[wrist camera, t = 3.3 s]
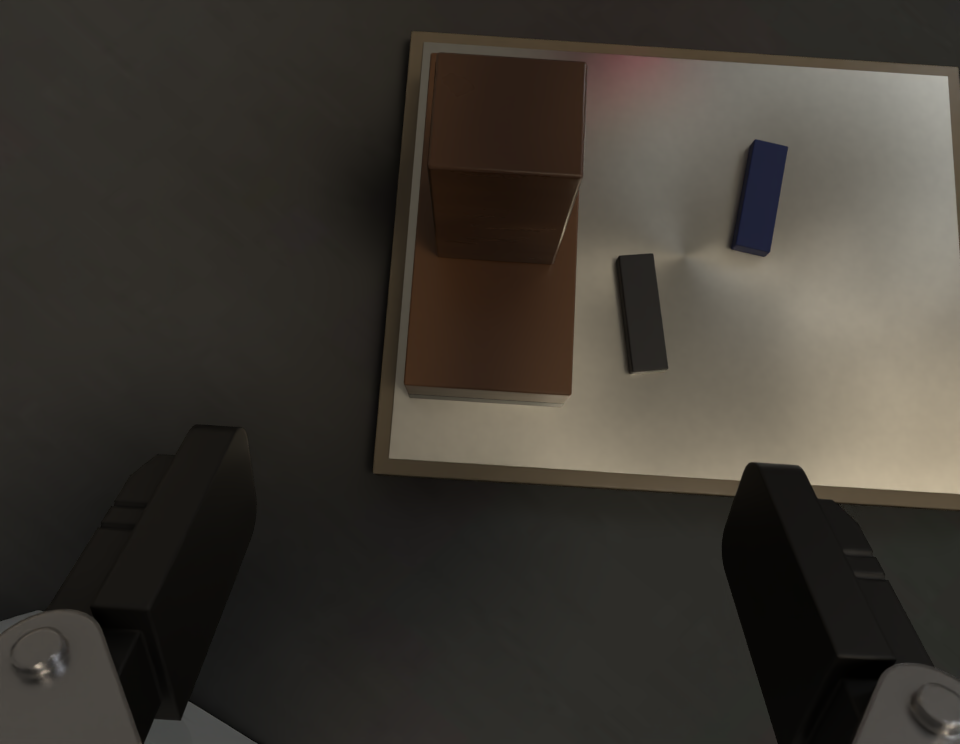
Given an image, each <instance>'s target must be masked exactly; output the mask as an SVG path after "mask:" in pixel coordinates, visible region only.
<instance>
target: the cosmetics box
mask: <svg viewBox="0 0 960 744" xmlns="http://www.w3.org/2000/svg"><path fill="white" fill-rule="evenodd" d="M41 612H42V611H40V610H37V611H33V612H30V613H26V614H23V615H20V616H15V617H13V618H10V619H7V620H3V621H0V634H1V633H2V632H3V631H5V630H6V629H7V628H9V627H10V626H12V625H14V624H15V623H17V622H19V621H21V620H23V619H25V618H27V617H29V616H32V615H35V614H38V613H41ZM144 744H257V743H255V742H254V741H252V740H251V739H249V738H247V737H246V736H244V735H243V734H241V733H239V732H238V731H236V730H234V729H233V728H231V727H230V726H228V725H227V724H225V723H223V722H222V721H220V720H218V719H217V718H215V717H214V716H212V715H210V714H209V713H207V712H206V711H204V710H202V709H201V708H199V707H197V706H196V705H194V704H192V703H191V702H189V701H188V703H187V706H186V708H185V711H184V714H183V716H182V719H181V721H176V720H160V719H154V721H153V723H152V726H151V728H150V730H149V733H148V735H147V738H146V740H145V742H144Z"/></svg>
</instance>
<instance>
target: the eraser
mask: <svg viewBox="0 0 960 744" xmlns="http://www.w3.org/2000/svg"><path fill="white" fill-rule="evenodd" d="M587 68H588V66H587V63H586V62H581V61H566V60H551V59H536V58H520V57H505V56H490V55H475V54H460V53H445V52H439V53H431V55H430V67H429V79H428V91H427V104H426V116H425V128H424V140H423V152H422V165H421V177H420V189H419V201H418V213H417V226H416V238H415V250H414V262H413V274H412V287H411V299H410V311H409V323H408V335H407V348H406V360H405V372H404V386H405V388H406V390H407V392H408V395H409V397H410V398H419V399H434V400H450V401H466V402H482V403H498V404H514V405H530V406H546V407H562V406H563V405H564V403H565V402H566V401H567V400H568V398H569V397H570V396H571V394H572V373H573V346H574V319H575V292H576V266H577V239H578V212H579V188H580V185H581V182H582V179H583V176H584V150H585V123H586V95H587Z"/></svg>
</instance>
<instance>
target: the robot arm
mask: <svg viewBox="0 0 960 744" xmlns="http://www.w3.org/2000/svg"><path fill="white" fill-rule="evenodd" d="M256 505H257V504H256V493H255V486H254V479H253V472H252V465H251V458H250V451H249V445H248V438H247V434H246V431H245V430H244V428H242V427H227V426H212V425H194V426H193V427H192V428H191V429H190V430H189V432H188V434H187V435H186V437H185V439H184V441H183V442H182V444H181V446H180V448H179V449H178V451H177V453H176V455H159V454H157V455H156V456H155V457H153V458H152V459H151V460H150V461H148V462H147V463H146V464H144V465H143V466H142V467H141V468H139V469H138V470H137V471H136V472H134V473H133V474H132V475H130V477H129V478H128V480H127V482H126V483H125V485H124V486H123V488H122V490H121V491H120V493H119V495H118V496H117V498H116V499H115V501H114V506H111V507H110V509H109V511H108V512H107V514H106V515H105V517H104V519H103V520H102V522H101V527H100V528H97V530H96V531H95V533H94V535H93V536H92V538H91V539H90V541H89V543H88V544H87V546H86V547H85V549H84V551H83V552H82V554H81V555H80V557H79V559H78V560H77V562H76V563H75V565H74V567H73V568H72V570H71V571H70V573H69V575H68V576H67V578H66V579H65V581H64V583H63V584H62V586H61V587H60V589H59V591H58V592H57V594H56V596H55V597H54V599H53V600H52V602H51V604H50V605H49V607H48V608H47V609H46V611H45V612H41V613H38V614H35V615H32V616H29V617H27V618H25V619H23V620H21V621H19V622H17V623H15V624H14V625H12V626H10V627H9V628H7V629H6V630H5V631H3V632H2V633H1V634H0V744H144V742H145V740H146V738H147V735H148V733H149V730H150V728H151V726H152V723H153V721H154V719H160V720H176V721H181V719H182V716H183V714H184V711H185V708H186V706H187V703H188V701H189V698H190V695H191V693H192V690H193V688H194V685H195V682H196V680H197V677H198V675H199V672H200V669H201V667H202V664H203V662H204V659H205V657H206V654H207V651H208V649H209V646H210V644H211V641H212V638H213V636H214V633H215V631H216V628H217V625H218V623H219V620H220V618H221V615H222V612H223V610H224V607H225V605H226V602H227V599H228V597H229V594H230V592H231V589H232V586H233V584H234V581H235V579H236V576H237V573H238V571H239V568H240V566H241V563H242V560H243V558H244V555H245V553H246V550H247V547H248V545H249V542H250V540H251V537H252V534H253V530H254V525H255V519H256ZM722 559H723V565H724V570H725V573H726V576H727V580H728V583H729V586H730V589H731V593H732V596H733V599H734V602H735V606H736V609H737V612H738V615H739V619H740V622H741V625H742V628H743V632H744V635H745V638H746V641H747V645H748V648H749V651H750V654H751V658H752V661H753V664H754V667H755V671H756V674H757V677H758V680H759V684H760V687H761V690H762V693H763V697H764V700H765V703H766V706H767V710H768V713H769V716H770V719H771V723H772V726H773V729H774V732H775V736H776V739H777V742H778V744H960V680H959V679H957V678H955V677H954V676H952V675H950V674H948V673H946V672H944V671H942V670H940V669H937V668H935V667H934V665H933V663H932V661H931V660H930V658H929V656H928V654H927V652H926V650H925V648H924V646H923V645H922V643H921V641H920V639H919V637H918V635H917V633H916V631H915V630H914V628H913V626H912V624H911V622H910V620H909V618H908V616H907V615H906V613H905V611H904V609H903V607H902V605H901V603H900V601H899V600H898V598H897V596H896V594H895V592H894V590H893V588H892V586H891V584H890V583H889V581H888V580H885V573H884V571H883V569H882V568H881V566H880V564H879V562H878V560H877V558H876V557H873V551H872V549H871V547H870V545H869V543H868V541H867V539H866V538H865V536H864V534H863V532H862V530H861V528H860V526H859V524H858V523H857V522H855V521H854V520H853V519H852V518H851V517H850V516H849V515H848V514H847V513H846V512H845V511H844V510H843V509H842V508H841V507H840V506H839V505H838V504H837V503H836V502H835V501H833V500H831V499H818V498H817V496H816V494H815V492H814V490H813V488H812V486H811V484H810V482H809V480H808V478H807V476H806V474H805V472H804V470H803V469H802V468H801V467H800V466H799V465H791V464H775V463H760V462H750V463H748V464H747V466H746V467H745V469H744V471H743V474H742V477H741V480H740V483H739V486H738V489H737V492H736V495H735V498H734V501H733V504H732V507H731V510H730V513H729V516H728V519H727V522H726V525H725V529H724V533H723V539H722Z"/></svg>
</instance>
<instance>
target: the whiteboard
mask: <svg viewBox="0 0 960 744" xmlns="http://www.w3.org/2000/svg"><path fill="white" fill-rule="evenodd" d="M439 52H445V53H460V54H475V55H490V56H505V57H520V58H536V59H551V60H566V61H581V62H586V63H587V66H588V68H587V95H586V123H585V150H584V176H583V179H582V182H581V185H580V188H579V212H578V239H577V266H576V292H575V319H574V346H573V373H572V394H571V396H570V397H569V398H568V400H567V401H566V402H565V403H564V405H563V406H562V407H546V406H530V405H514V404H498V403H482V402H466V401H450V400H434V399H419V398H410V397H409V395H408V392H407V390H406V388H405V386H404V372H405V360H406V348H407V335H408V323H409V311H410V299H411V287H412V274H413V262H414V250H415V238H416V226H417V213H418V201H419V189H420V177H421V165H422V152H423V140H424V128H425V116H426V104H427V91H428V79H429V67H430V55H431V53H439ZM755 139H757V140H762V141H766V142H771V143H775V144H779V145H784V146H788V151H787V157H786V163H785V169H784V175H783V180H782V186H781V192H780V198H779V204H778V209H777V215H776V221H775V227H774V233H773V239H772V244H771V250H770V253H769V254H768V255H766V256H765V257H762V256H758V255H753V254H749V253H745V252H741V251H736V250H732V249H731V246H732V240H733V235H734V230H735V224H736V219H737V213H738V208H739V202H740V197H741V191H742V186H743V180H744V175H745V169H746V164H747V158H748V153H749V148H750V145H751V144H752V142H753V141H754V140H755ZM649 253H653V255H654V261H655V269H656V277H657V284H658V292H659V300H660V308H661V315H662V323H663V331H664V338H665V346H666V354H667V361H668V370H666V371H665V372H658V373H645V374H630V373H629V365H628V357H627V349H626V340H625V332H624V324H623V315H622V307H621V298H620V290H619V282H618V273H617V265H616V260H617V258H618V256H620V255H634V254H649ZM750 462H760V463H775V464H791V465H799V466H800V467H801V468H802V469H803V470H804V472H805V474H806V476H807V478H808V480H809V482H810V484H811V486H812V488H813V490H814V492H815V494H816V496H817V498H818V499H831V500H833V501H835V502H836V503H837V504H849V505H865V506H881V507H897V508H913V509H929V510H945V511H960V84H959V70H958V67H949V66H934V65H919V64H904V63H889V62H873V61H858V60H843V59H828V58H813V57H798V56H783V55H768V54H753V53H737V52H722V51H707V50H692V49H677V48H662V47H647V46H632V45H616V44H601V43H586V42H571V41H556V40H541V39H526V38H511V37H496V36H480V35H465V34H450V33H435V32H420V31H412V32H411V41H410V52H409V63H408V75H407V86H406V98H405V109H404V120H403V132H402V143H401V154H400V166H399V177H398V188H397V200H396V211H395V222H394V234H393V245H392V256H391V268H390V279H389V290H388V302H387V313H386V325H385V336H384V347H383V359H382V370H381V381H380V393H379V404H378V415H377V427H376V438H375V449H374V461H373V473H374V474H376V475H383V476H399V477H416V478H432V479H448V480H464V481H480V482H496V483H512V484H528V485H544V486H560V487H576V488H592V489H608V490H624V491H640V492H656V493H672V494H688V495H704V496H720V497H735V495H736V492H737V489H738V486H739V483H740V480H741V477H742V474H743V471H744V469H745V467H746V466H747V464H748V463H750Z"/></svg>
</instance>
